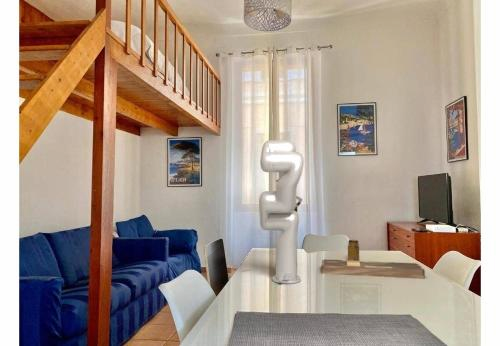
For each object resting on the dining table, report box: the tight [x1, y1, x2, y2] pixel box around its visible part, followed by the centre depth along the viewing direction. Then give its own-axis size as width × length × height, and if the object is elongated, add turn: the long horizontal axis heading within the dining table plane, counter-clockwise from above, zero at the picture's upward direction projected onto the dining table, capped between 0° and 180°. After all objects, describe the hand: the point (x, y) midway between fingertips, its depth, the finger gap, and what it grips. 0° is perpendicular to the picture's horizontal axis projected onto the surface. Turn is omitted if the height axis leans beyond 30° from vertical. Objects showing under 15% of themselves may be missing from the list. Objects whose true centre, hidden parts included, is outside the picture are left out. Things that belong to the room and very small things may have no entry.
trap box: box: [321, 259, 426, 280], centre depth 180 cm, size 12×46×4 cm, turn 78°
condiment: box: [347, 239, 360, 262], centre depth 203 cm, size 7×8×12 cm
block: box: [346, 260, 361, 266], centre depth 182 cm, size 6×6×5 cm
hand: (286, 214), depth 195 cm, fingers open, 9 cm apart
